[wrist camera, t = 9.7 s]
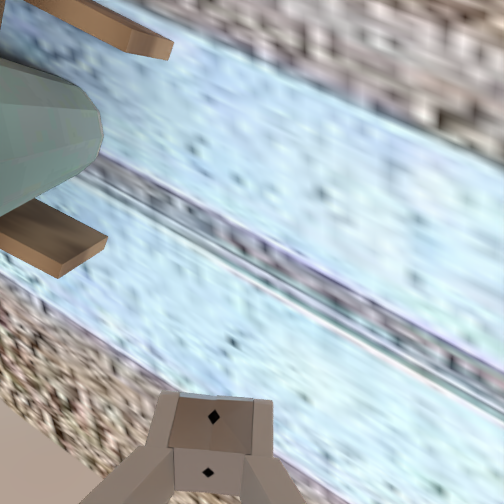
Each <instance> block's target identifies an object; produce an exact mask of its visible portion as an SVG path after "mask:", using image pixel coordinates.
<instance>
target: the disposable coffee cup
mask: <svg viewBox="0 0 504 504" xmlns="http://www.w3.org/2000/svg"><path fill="white" fill-rule="evenodd" d="M103 136H104V134H103V129H102V124H101V118H100V113H99V111H98V110H97V108H96V107H95V105H94V104H93V103H92V101H91V100H90V98H89V97H88V96H87V94H86V93H85V92H84V91H83V90H82V89H81V88H79V87H77V86H75V85H74V84H72V83H70V82H68V81H66V80H64V79H62V78H60V77H58V76H55V75H51V74H48V73H45V72H42V71H39V70H36V69H33V68H30V67H27V66H24V65H21V64H18V63H15V62H12V61H9V60H5V59H2V58H0V217H1V216H2V215H4V214H6V213H8V212H10V211H11V210H13V209H15V208H17V207H19V206H21V205H22V204H24V203H26V202H28V201H30V200H32V199H33V198H35V197H37V196H39V195H41V194H42V193H44V192H46V191H48V190H50V189H52V188H53V187H55V186H57V185H59V184H61V183H63V182H64V181H66V180H68V179H70V178H72V177H73V176H75V175H77V174H79V173H80V172H81V171H83V170H84V169H85V168H86V167H87V166H89V165H90V164H91V163H92V162H93V161H94V160H95V159H96V157H97V156H98V153H99V150H100V146H101V143H102V140H103Z"/></svg>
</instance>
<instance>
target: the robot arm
mask: <svg viewBox="0 0 504 504" xmlns="http://www.w3.org/2000/svg"><path fill="white" fill-rule="evenodd" d="M174 491H189V492H205V493H215V494H223V495H231V496H240V500H241V502H242V504H307V503H306V501H305V499H304V498H303V496H302V495H301V493H300V491H299V490H298V488H297V486H296V485H295V483H294V482H293V480H292V478H291V477H290V475H289V474H288V472H287V470H286V469H285V467H284V466H283V464H282V462H281V461H280V459H279V458H274V457H273V402H272V400H264V399H254V400H253V398H245V397H232V396H219V395H217V396H211V395H203V394H194V393H186V392H177V391H166V390H162V391H161V393H160V395H159V398H158V401H157V405H156V409H155V412H154V416H153V419H152V423H151V426H150V430H149V433H148V437H147V440H146V444H145V446H138V447H137V448H136V449H135V450H134V451H133V452H132V453H131V454H130V455H129V456H128V457H127V458H126V459H125V460H124V461H123V462H122V463H121V464H119V465H118V466H117V467H116V468H115V469H114V470H113V471H112V472H111V473H110V474H109V475H108V476H107V477H106V478H105V479H104V480H103V481H102V482H101V483H100V484H99V485H98V486H97V487H96V488H94V489H93V490H92V492H90V493H89V494H88V495H87V496H86V497H85V498H84V499H83V500H82V501H81V502H80V503H79V504H166V503H167V502H168V501H169V499H170V498H171V497H172V495H173V494H174ZM207 491H208V492H207Z"/></svg>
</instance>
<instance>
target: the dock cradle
mask: <svg viewBox="0 0 504 504" xmlns="http://www.w3.org/2000/svg"><path fill="white" fill-rule="evenodd" d="M24 1H26V2H28V3H30V4H32V5H34V6H36V7H38V8H40V9H42V10H44V11H45V12H47V13H49V14H51V15H53V16H55V17H57V18H59V19H61V20H63V21H65V22H67V23H69V24H71V25H73V26H75V27H77V28H79V29H81V30H83V31H85V32H87V33H88V34H90V35H92V36H94V37H96V38H98V39H100V40H102V41H104V42H106V43H108V44H110V45H112V46H114V47H116V48H118V49H120V50H122V51H124V52H126V53H131V54H136V55H142V56H147V57H152V58H157V59H163V60H168V59H169V56H170V53H171V50H172V47H173V44H174V42H173V41H171V40H169V39H167V38H165V37H163V36H161V35H159V34H157V33H155V32H153V31H151V30H149V29H147V28H145V27H143V26H142V25H140V24H138V23H136V22H134V21H132V20H130V19H128V18H126V17H124V16H122V15H120V14H118V13H116V12H114V11H112V10H110V9H108V8H106V7H104V6H102V5H100V4H98V3H96V2H94V1H92V0H24ZM4 6H5V0H0V28H1V23H2V17H3V11H4ZM107 239H108V236H106V235H104V234H102V233H100V232H98V231H96V230H94V229H92V228H90V227H89V226H87V225H85V224H83V223H81V222H79V221H77V220H75V219H73V218H71V217H69V216H67V215H66V214H64V213H62V212H60V211H58V210H56V209H54V208H52V207H50V206H48V205H46V204H44V203H43V202H41V201H39V200H37V199H35V198H33V199H32V200H30V201H28V202H26V203H24V204H22V205H21V206H19V207H17V208H15V209H13V210H11V211H10V212H8V213H6V214H4V215H2V216H1V217H0V249H2V250H4V251H5V252H7V253H9V254H11V255H13V256H15V257H17V258H19V259H21V260H23V261H25V262H26V263H28V264H30V265H32V266H34V267H36V268H38V269H40V270H42V271H44V272H45V273H47V274H49V275H51V276H53V277H55V278H57V279H59V278H60V277H62V276H63V275H65V274H66V273H68V272H69V271H71V270H73V269H74V268H76V267H77V266H79V265H80V264H82V263H83V262H85V261H86V260H88V259H90V258H91V257H93V256H94V255H96V254H97V253H99V252H100V251H102V250H103V249H104V247H105V244H106V242H107Z"/></svg>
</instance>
